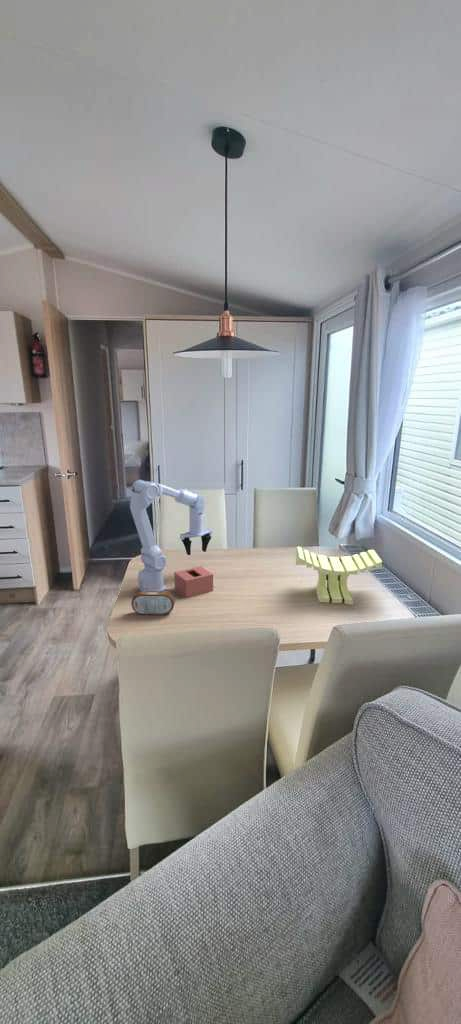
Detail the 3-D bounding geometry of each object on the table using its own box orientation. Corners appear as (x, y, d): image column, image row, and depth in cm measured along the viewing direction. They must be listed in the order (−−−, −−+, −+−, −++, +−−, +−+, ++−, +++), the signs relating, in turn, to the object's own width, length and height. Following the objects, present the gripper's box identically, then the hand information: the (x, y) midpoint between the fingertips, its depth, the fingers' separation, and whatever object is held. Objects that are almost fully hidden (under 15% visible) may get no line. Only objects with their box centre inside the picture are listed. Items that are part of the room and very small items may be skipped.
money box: (186, 597, 167) (186, 580, 165) (174, 588, 175) (174, 572, 173) (213, 590, 173) (213, 574, 172) (200, 582, 181) (200, 566, 180)
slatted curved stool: (367, 588, 179) (371, 547, 174) (377, 605, 163) (382, 561, 159) (294, 584, 181) (296, 543, 176) (297, 601, 165) (299, 557, 161)
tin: (174, 611, 156) (174, 590, 154) (174, 615, 153) (173, 593, 151) (132, 611, 155) (131, 589, 153) (131, 615, 152) (130, 593, 150)
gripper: (185, 527, 175) (185, 558, 178) (216, 522, 183) (215, 552, 186) (177, 522, 180) (177, 553, 184) (207, 518, 188) (207, 547, 192)
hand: (196, 552), depth 185 cm, fingers open, 7 cm apart
